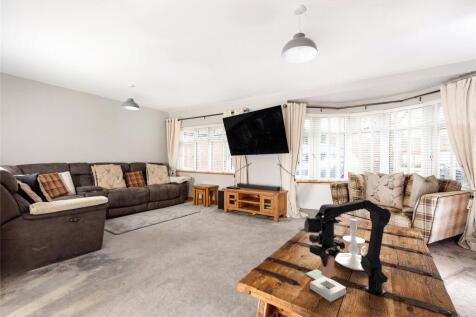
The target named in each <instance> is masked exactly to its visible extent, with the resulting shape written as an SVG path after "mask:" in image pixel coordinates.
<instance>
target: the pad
mask: <svg viewBox="0 0 476 317" xmlns="http://www.w3.org/2000/svg"><path fill="white" fill-rule="evenodd" d="M305 275H306V276H308V277H310V278H311V279H313V280H317V279H319V278H322V277H324V276H323V275H321V269H320V270H319V269H318V268H316V269H314V270H311V271H309V272H305Z"/></svg>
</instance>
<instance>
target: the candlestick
mask: <svg viewBox="0 0 476 317" xmlns="http://www.w3.org/2000/svg"><path fill="white" fill-rule="evenodd" d="M357 234H358V219H356V218H352V217H350V218H349V235H344V236H342V239H343V240H344V241H346V242H349V245H348V246H347V250H348V252H339V253H338V255H337V256H336V258H335V260H334V261H336V262H337V263H339V264H340V265H341V266H343V267H344V268H345V267H346V268H347V269H349V270H353V271H364V270H363V268H362V267H361V263H360V262H361V256H362V255H363V256H365V255H366V251H367V250H366V247H367V245H364V246H362V247H361V249H360V248H359V247H358V244H364V243H366V242H365V239H364V238H362V237H358V236H357ZM359 252H360V254H361V255H360V254H359Z"/></svg>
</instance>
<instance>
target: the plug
mask: <svg viewBox="0 0 476 317" xmlns="http://www.w3.org/2000/svg"><path fill="white" fill-rule="evenodd" d="M320 262H321V263H320V264H321V265H320V271H321V275H323V276H325V277H327V278H328V279H329V278H330V279H331V278H333V277H335V260H334V257H333V256H331V255H329V258H328V262H327V265H326V267H324V266H323V263H322V261H321V260H320Z"/></svg>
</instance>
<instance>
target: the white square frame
mask: <svg viewBox="0 0 476 317" xmlns="http://www.w3.org/2000/svg"><path fill="white" fill-rule="evenodd" d="M309 285H310V287H309V288H310V289H311V290H312V291H313V292H314V293H317V294H318V295H320V297H322V298H324V299H326V300H327V301H329V302H330V303H331V302H334V301H335V300H337V299H340V298H341V297H343V296H345V295H347V287H346V286H344V285H342V284H341V283H339V282H337V281H336V280H334V279H331V278H329V279H328V278H327V277H325V276H324V277H322V278H319V279H317V280H315V279H313V281H310V284H309Z"/></svg>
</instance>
